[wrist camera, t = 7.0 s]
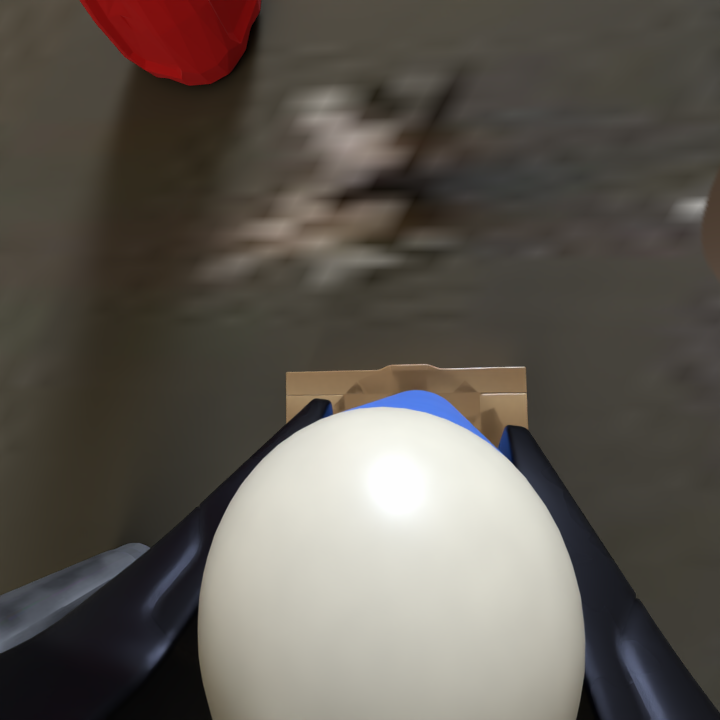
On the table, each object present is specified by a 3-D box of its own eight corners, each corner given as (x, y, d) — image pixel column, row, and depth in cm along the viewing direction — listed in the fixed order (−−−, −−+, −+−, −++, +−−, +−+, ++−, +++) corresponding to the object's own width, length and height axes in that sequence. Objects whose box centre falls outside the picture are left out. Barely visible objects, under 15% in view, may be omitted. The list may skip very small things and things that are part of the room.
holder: (522, 613, 20) (538, 654, 17) (306, 593, 22) (287, 626, 19) (511, 364, 21) (525, 361, 18) (304, 369, 23) (285, 367, 20)
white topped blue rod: (468, 488, 15) (739, 1226, 2) (371, 484, 16) (72, 1001, 3) (464, 389, 15) (684, 428, 2) (369, 390, 16) (90, 423, 3)
